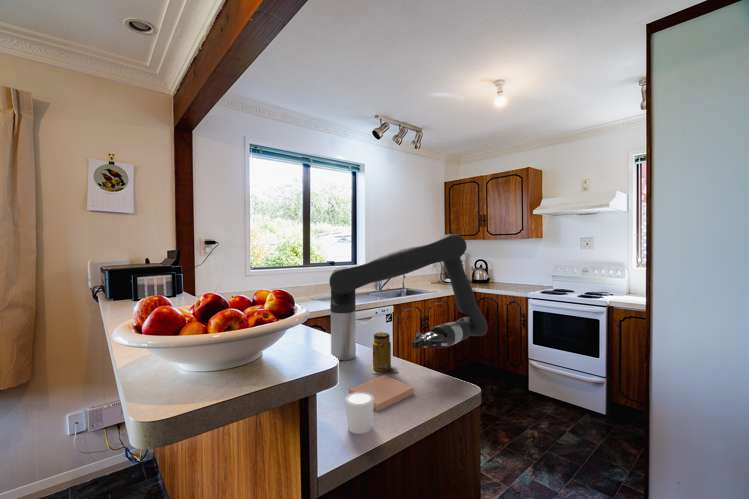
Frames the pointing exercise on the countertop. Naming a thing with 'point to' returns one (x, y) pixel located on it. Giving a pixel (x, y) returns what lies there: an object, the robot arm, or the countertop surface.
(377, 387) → the tile
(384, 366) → the condiment
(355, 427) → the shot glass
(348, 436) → the countertop surface
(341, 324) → the robot arm
